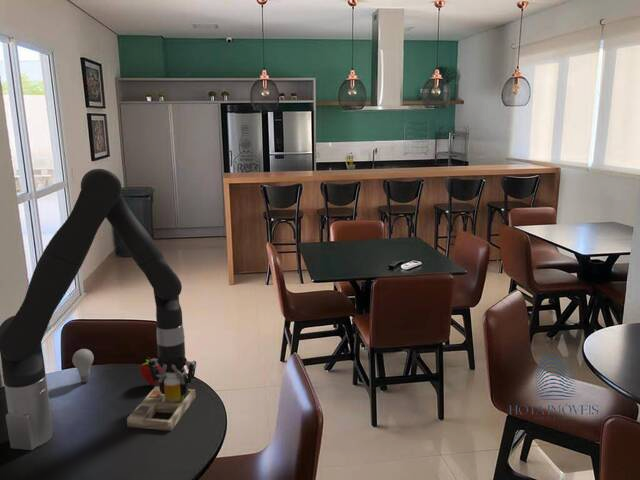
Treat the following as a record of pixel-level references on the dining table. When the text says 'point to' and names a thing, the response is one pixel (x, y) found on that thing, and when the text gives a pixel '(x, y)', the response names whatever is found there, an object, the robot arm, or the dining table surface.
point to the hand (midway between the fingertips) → (174, 393)
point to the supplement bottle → (172, 388)
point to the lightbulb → (83, 363)
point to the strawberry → (148, 373)
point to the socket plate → (157, 404)
